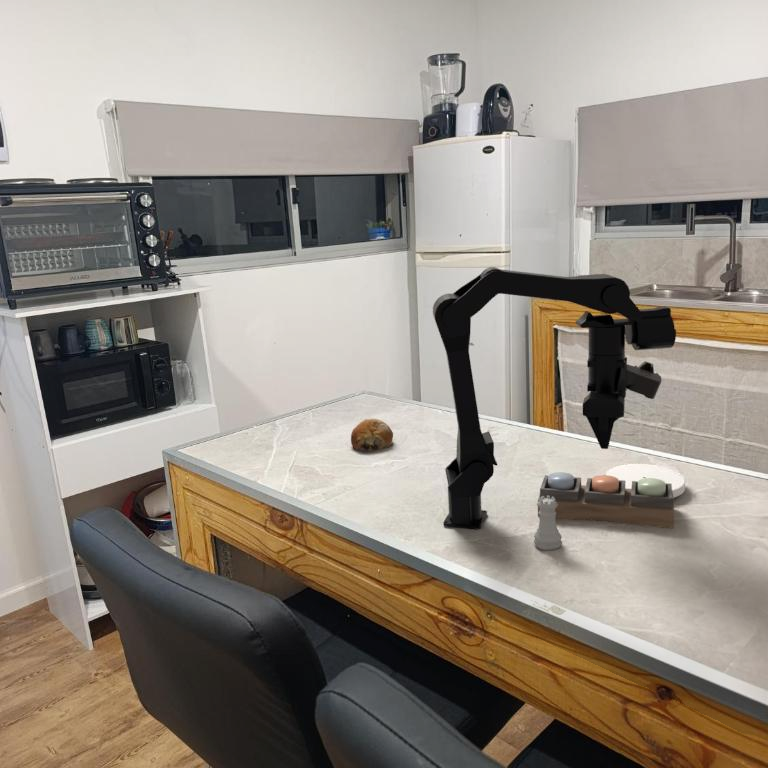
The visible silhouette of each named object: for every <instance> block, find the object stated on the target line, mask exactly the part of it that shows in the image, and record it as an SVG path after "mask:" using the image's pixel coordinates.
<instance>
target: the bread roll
mask: <svg viewBox="0 0 768 768" xmlns="http://www.w3.org/2000/svg"><path fill="white" fill-rule="evenodd" d="M393 437H394V432H393V430H392V429H391V427H390V426H389V425H388V424H387V423H386V422H385V421H383V420H380V419H378V418H369V419H368V418H366V419H363V420H361V421H360V422H359V423H358V424H357V425H356V426H355V427H354V428H353V429H352V431H351V435H350V444H351V446H352V447H353V448H354V450H356V451H362V452H363V451H364V452H375V451H379V450H383V449H386V448H388V447H390V445H392V444H393V440H394V439H393Z"/></svg>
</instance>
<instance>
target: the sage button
mask: <svg viewBox="0 0 768 768" xmlns="http://www.w3.org/2000/svg"><path fill="white" fill-rule="evenodd" d="M665 493H666V483H665V482H664V481H662V480H659V479H655V478H644V479H641V480H639V481H638V495H646V496H659V497H665Z"/></svg>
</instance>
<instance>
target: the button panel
mask: <svg viewBox="0 0 768 768" xmlns="http://www.w3.org/2000/svg"><path fill="white" fill-rule="evenodd" d="M548 476H549V475H546V474H545V475H544V477H543V480H542V482H541V485H540V488H539V496H538V498H537V502H538V501H539V498H541V496H545V498H547V496H550V499H551V497H554V498H555V501H556V502H557V504H558V506H557V507H556V509H555V512H556V513H557V514H556V515H555V519H565V520H574V521H575V520H577V521H585V522H586V521H589V522H601V523H610V524H611V523H612V524H620V525H621V524H624V525H635V526H646V527H647V526H648V527H655V528H657V527H658V528H666V529H667V528H670V529H674V527H675V526H674V525H675V504H674V503H675V502H674V498H673V492H672V484H667V483H666V493H665V497H659V496H646V495H638V482H637V481H632V489H626V488H625V481H622V480H619V492H618V493H605V492H592V478H593V477H592V478H591V477H590V478H589V477H587V479H586V485H582V477H577V476H576V477H574V476H573V477H574V489H573V490H563V489H550V488H548ZM539 511H540V508H539V507H538V506H537V517H540V515H539Z"/></svg>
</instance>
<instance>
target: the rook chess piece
mask: <svg viewBox="0 0 768 768" xmlns="http://www.w3.org/2000/svg"><path fill="white" fill-rule="evenodd" d="M538 498H539V497H538ZM536 506H537V508H538V507H539V508H540V511H539V515H540V516H539V520H538V521H539V522H538V528H537V529H536V532H535V533H534V535H533V538H534V539H533V544H534V545H535V546H536V548H538V549H540V550H542V551H555V550H558V549H559V548H560V547H561V546H562V543H563V541H562V534H561V533H560V532H559V529H558V527H557V521H556V518H555V515H556V514H557V513H556V512H555V509H556V507H557V506H558V504H557V502H556V501H555V498H554V497H551V499H550V496H547V498H545V496H541V498H539V501H538V500H537V503H536Z"/></svg>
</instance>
